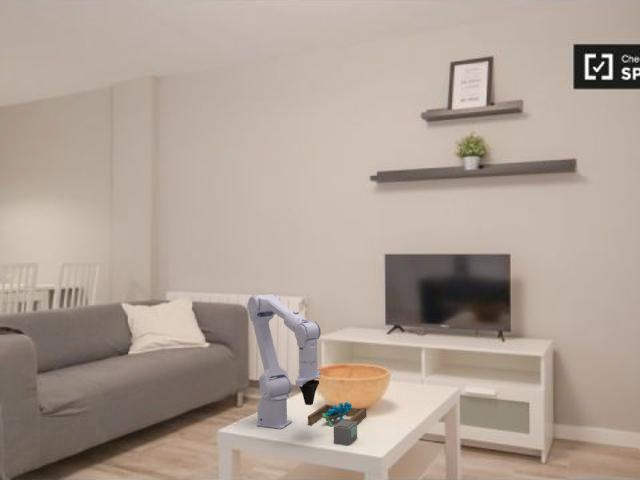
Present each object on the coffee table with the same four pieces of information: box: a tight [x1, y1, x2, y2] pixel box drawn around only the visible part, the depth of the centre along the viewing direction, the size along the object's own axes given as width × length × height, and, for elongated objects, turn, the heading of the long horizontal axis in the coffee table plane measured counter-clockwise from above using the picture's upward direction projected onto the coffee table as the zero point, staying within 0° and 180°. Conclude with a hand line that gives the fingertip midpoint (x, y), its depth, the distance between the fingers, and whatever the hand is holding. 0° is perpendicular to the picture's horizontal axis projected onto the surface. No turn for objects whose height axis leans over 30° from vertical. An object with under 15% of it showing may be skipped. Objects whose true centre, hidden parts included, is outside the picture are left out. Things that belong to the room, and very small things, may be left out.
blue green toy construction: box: [322, 401, 353, 427], centre depth 192 cm, size 11×6×10 cm
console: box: [333, 419, 358, 446], centre depth 175 cm, size 5×7×5 cm
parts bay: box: [307, 403, 367, 426], centre depth 195 cm, size 15×15×3 cm
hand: (309, 404), depth 179 cm, fingers closed
